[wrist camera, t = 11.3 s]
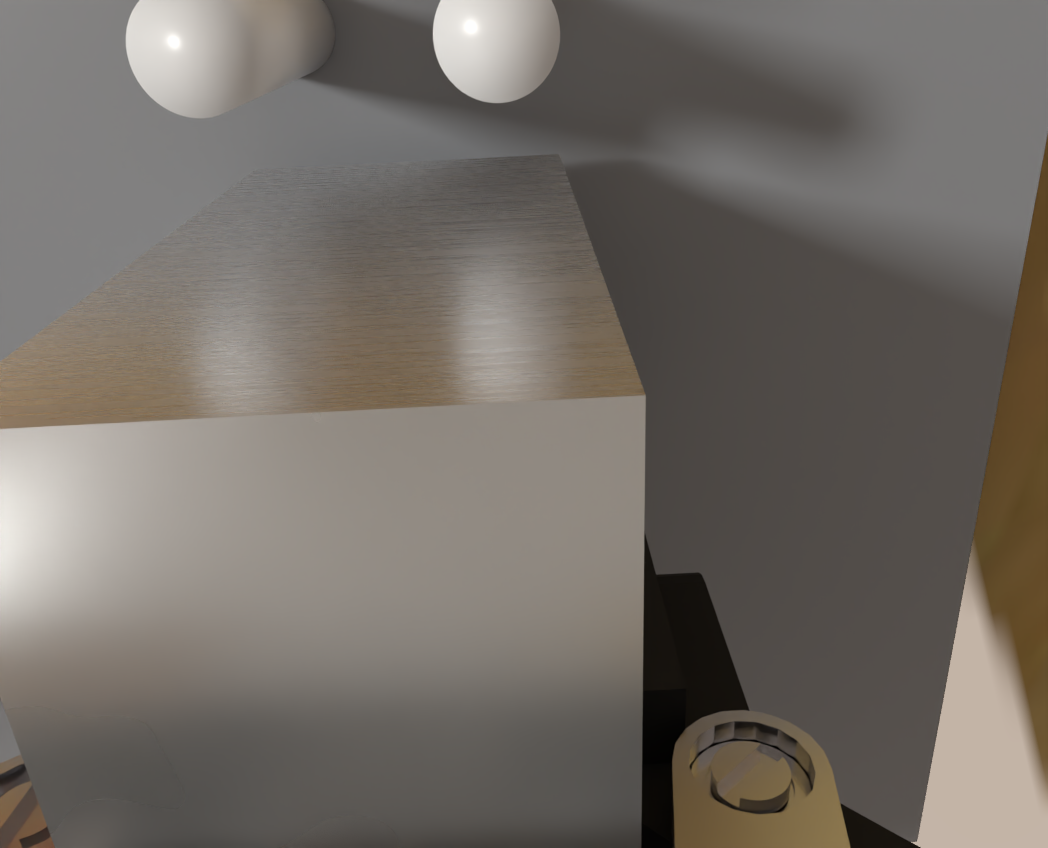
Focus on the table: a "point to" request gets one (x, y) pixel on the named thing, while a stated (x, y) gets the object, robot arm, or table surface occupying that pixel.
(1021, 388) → the table surface
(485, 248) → the block
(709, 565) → the pin tray
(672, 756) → the robot arm
